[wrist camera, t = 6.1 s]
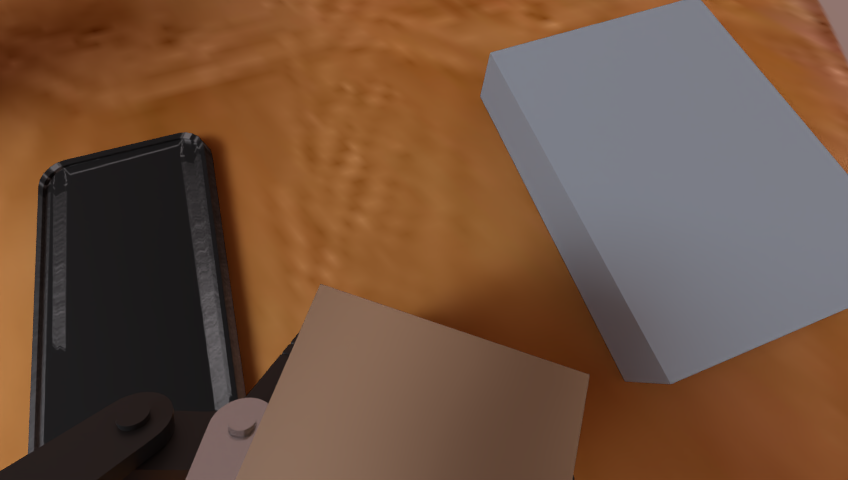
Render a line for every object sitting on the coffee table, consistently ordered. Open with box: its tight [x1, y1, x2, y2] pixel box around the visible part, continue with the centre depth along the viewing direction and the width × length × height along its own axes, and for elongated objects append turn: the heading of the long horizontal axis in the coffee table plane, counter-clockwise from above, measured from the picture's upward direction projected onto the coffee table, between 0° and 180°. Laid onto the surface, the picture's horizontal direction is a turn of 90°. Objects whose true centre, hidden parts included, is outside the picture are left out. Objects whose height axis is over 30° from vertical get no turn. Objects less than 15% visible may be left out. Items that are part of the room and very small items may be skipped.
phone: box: [28, 132, 246, 454], centre depth 16 cm, size 8×1×15 cm
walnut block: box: [236, 284, 590, 480], centre depth 10 cm, size 5×5×10 cm
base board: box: [480, 0, 848, 384], centre depth 17 cm, size 16×12×3 cm
